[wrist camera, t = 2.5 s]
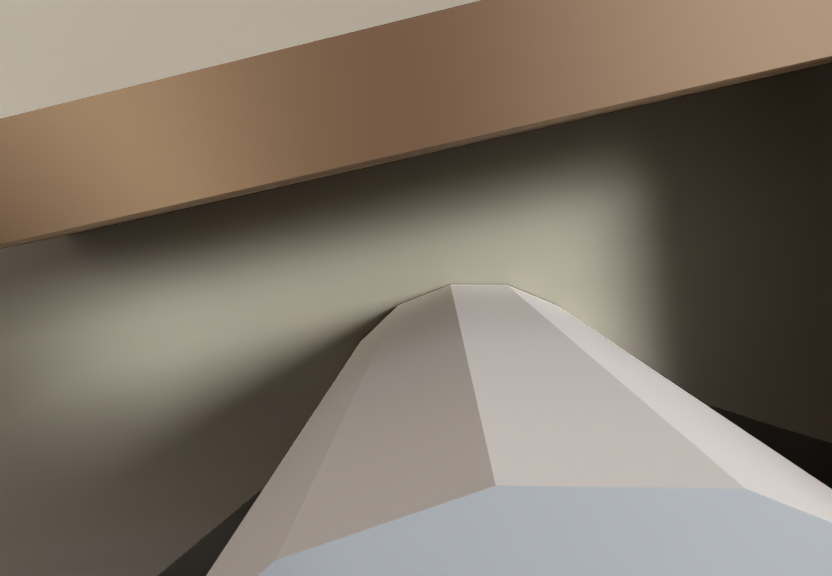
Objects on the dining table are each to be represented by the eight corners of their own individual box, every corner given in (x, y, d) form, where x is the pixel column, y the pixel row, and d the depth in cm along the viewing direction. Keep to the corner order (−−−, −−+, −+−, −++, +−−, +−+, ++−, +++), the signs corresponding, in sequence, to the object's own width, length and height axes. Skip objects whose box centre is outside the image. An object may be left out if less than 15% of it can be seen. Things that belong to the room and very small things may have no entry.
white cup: (427, 596, 11) (431, 1242, 5) (243, 368, 10) (-146, 812, 3) (697, 455, 10) (1226, 1023, 3) (533, 179, 9) (885, 235, 2)
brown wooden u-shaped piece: (919, -36, 8) (1393, -225, 4) (896, 594, 11) (1150, 827, 7) (40, 173, 9) (-252, 180, 5) (247, 691, 12) (164, 939, 8)
